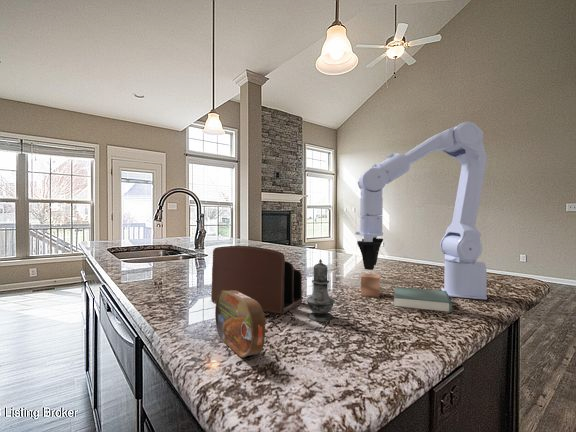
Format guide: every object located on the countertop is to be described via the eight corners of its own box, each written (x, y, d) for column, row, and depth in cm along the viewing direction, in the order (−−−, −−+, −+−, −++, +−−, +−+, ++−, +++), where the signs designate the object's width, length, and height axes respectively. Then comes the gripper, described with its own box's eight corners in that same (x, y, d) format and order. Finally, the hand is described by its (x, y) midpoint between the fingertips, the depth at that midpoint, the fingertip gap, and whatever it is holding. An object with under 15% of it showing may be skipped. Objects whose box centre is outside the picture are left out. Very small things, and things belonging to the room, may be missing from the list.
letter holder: (282, 315, 66) (282, 249, 66) (210, 302, 75) (210, 244, 75) (302, 303, 75) (302, 244, 74) (235, 292, 84) (235, 240, 84)
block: (380, 293, 83) (380, 274, 83) (378, 297, 79) (379, 277, 79) (362, 291, 85) (363, 273, 85) (360, 295, 81) (361, 276, 81)
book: (446, 301, 77) (446, 290, 77) (451, 313, 67) (452, 302, 67) (394, 296, 81) (394, 286, 81) (393, 307, 72) (393, 296, 72)
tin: (213, 332, 56) (213, 286, 56) (230, 328, 58) (230, 283, 58) (249, 367, 43) (249, 308, 43) (269, 362, 45) (269, 304, 45)
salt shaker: (333, 323, 61) (334, 261, 61) (304, 320, 62) (304, 260, 62) (335, 313, 67) (335, 257, 66) (308, 311, 68) (308, 256, 68)
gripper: (359, 215, 90) (358, 261, 90) (351, 215, 76) (350, 270, 77) (384, 215, 87) (384, 263, 88) (381, 216, 74) (380, 272, 74)
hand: (370, 267), depth 82 cm, fingers open, 7 cm apart
